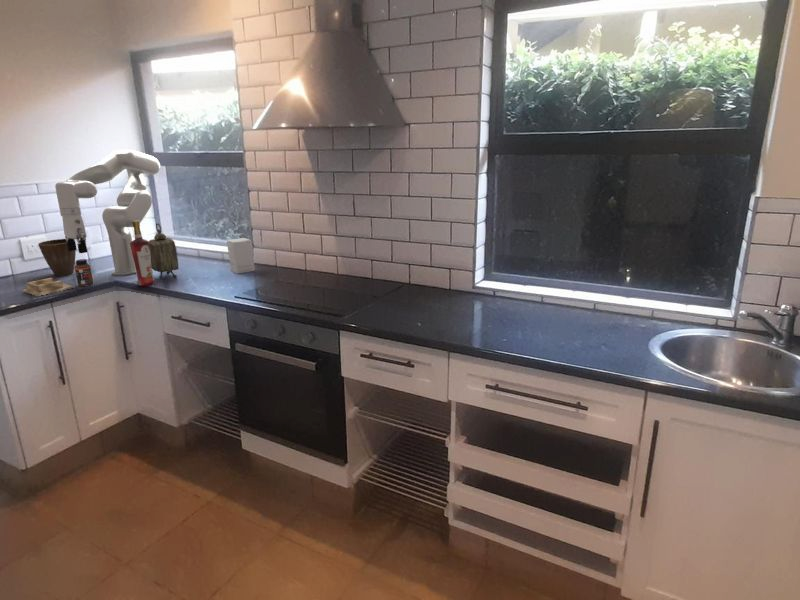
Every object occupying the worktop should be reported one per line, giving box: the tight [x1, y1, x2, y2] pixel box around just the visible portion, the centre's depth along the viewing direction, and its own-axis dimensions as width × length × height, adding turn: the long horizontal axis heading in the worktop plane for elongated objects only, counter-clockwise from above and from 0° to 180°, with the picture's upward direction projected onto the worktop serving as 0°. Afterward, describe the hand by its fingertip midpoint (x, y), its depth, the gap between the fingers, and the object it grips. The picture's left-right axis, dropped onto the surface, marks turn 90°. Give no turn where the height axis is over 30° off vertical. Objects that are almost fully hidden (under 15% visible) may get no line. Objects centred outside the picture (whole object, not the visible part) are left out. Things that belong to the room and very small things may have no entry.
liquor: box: [130, 221, 155, 288], centre depth 227 cm, size 7×7×28 cm
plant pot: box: [38, 238, 77, 277], centre depth 252 cm, size 15×15×16 cm
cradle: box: [23, 277, 75, 297], centre depth 226 cm, size 14×14×4 cm
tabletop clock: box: [148, 222, 179, 280], centre depth 239 cm, size 14×9×25 cm, turn 39°
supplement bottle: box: [74, 258, 94, 287], centre depth 232 cm, size 6×6×11 cm
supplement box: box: [226, 237, 256, 275], centre depth 250 cm, size 9×9×15 cm
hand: (77, 251), depth 229 cm, fingers open, 9 cm apart
